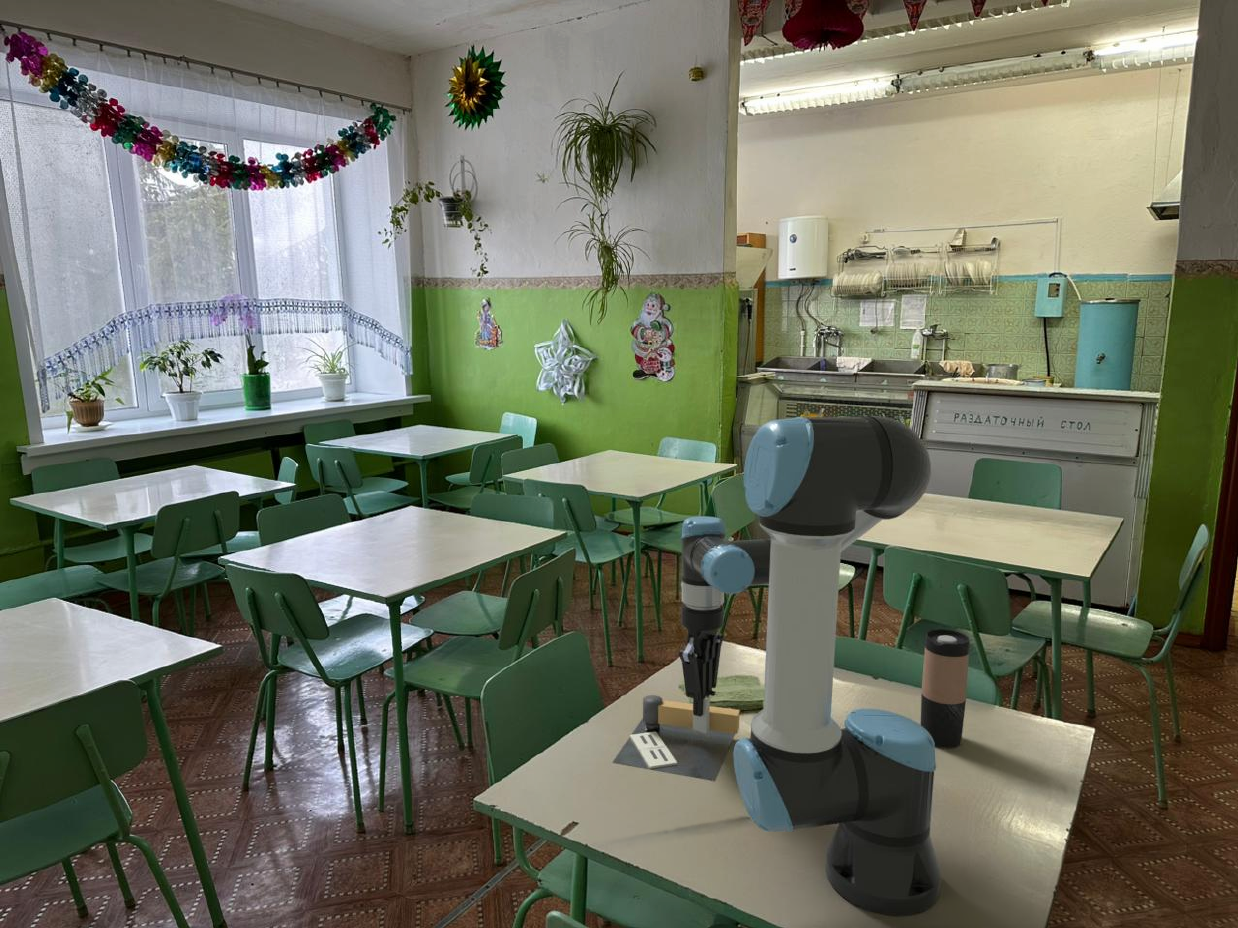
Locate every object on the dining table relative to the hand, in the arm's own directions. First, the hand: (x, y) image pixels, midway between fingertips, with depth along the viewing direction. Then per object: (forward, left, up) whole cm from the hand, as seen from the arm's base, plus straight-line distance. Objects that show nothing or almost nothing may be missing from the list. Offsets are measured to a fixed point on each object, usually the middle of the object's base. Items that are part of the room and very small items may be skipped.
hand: (700, 730), depth 151 cm
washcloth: (+21, 0, -4) cm, 22 cm away
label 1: (-4, +9, -2) cm, 10 cm away
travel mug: (+18, -41, -4) cm, 45 cm away
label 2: (-8, +6, -2) cm, 10 cm away
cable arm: (+2, +3, 0) cm, 3 cm away
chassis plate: (-3, +4, -3) cm, 6 cm away
